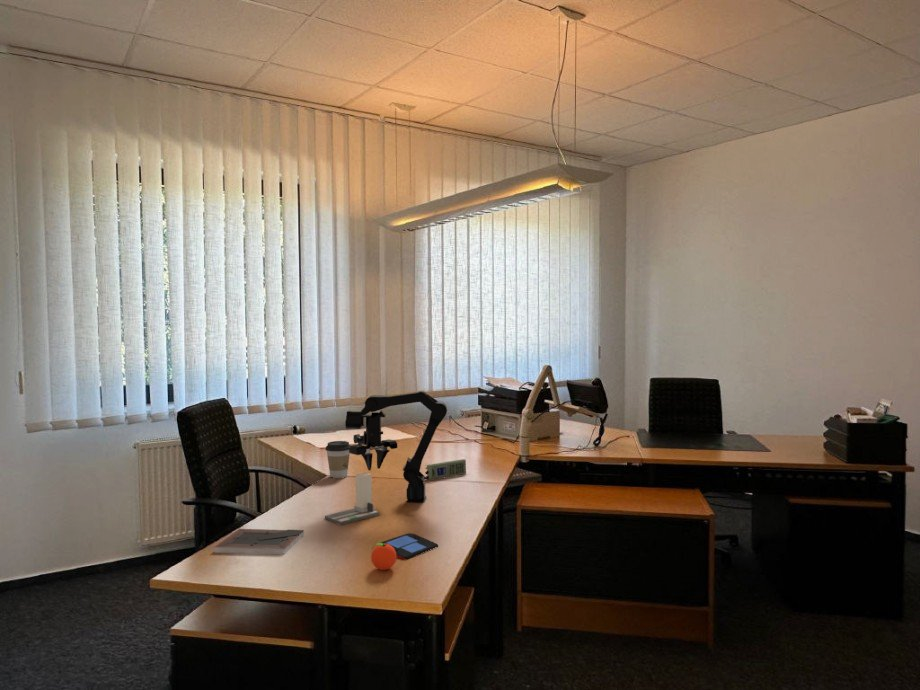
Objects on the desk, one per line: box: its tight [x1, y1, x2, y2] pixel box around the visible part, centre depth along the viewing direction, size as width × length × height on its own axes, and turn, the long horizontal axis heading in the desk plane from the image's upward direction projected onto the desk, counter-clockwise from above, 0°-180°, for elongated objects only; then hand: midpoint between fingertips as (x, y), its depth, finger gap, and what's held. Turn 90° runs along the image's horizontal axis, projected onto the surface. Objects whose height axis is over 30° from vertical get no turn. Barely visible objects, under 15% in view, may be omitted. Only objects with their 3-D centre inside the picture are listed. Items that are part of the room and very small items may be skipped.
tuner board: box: [324, 508, 380, 526], centre depth 218 cm, size 16×10×1 cm, turn 133°
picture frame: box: [213, 528, 305, 555], centre depth 192 cm, size 16×2×22 cm
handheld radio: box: [424, 458, 467, 481], centre depth 272 cm, size 7×3×25 cm
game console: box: [380, 532, 439, 560], centre depth 187 cm, size 14×13×2 cm
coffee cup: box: [324, 440, 352, 479], centre depth 275 cm, size 11×11×15 cm
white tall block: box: [353, 472, 375, 513], centre depth 220 cm, size 5×7×13 cm
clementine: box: [370, 542, 397, 571], centre depth 172 cm, size 8×7×7 cm
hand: (374, 469), depth 237 cm, fingers open, 4 cm apart
